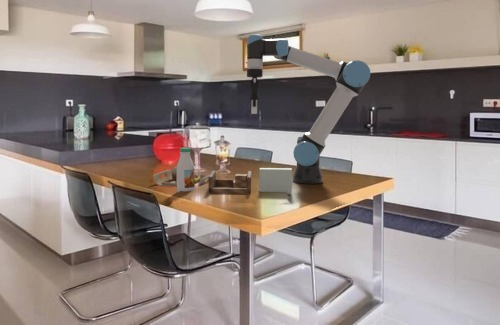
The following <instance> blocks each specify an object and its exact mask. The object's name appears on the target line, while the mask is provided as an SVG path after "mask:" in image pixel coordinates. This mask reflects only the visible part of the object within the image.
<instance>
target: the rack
mask: <svg viewBox="0 0 500 325" xmlns="http://www.w3.org/2000/svg"><path fill="white" fill-rule="evenodd" d="M216 174H217V171H216V170H211V173H210V174H208V175H209V177H208V178H209V181H208V194H236V195H237V194H238V195H239V194H240V195H243V194H246V195H251V194H252V171H251V170H248V171H247V188H233V180H235V178H234V179H233V178H232V179H231V178H229V179H228V178H226V179H224V178H223V179H222V178H221V179H220V178H219V179H217V175H216ZM208 178H207V179H208Z"/></svg>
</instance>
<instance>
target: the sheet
mask: <svg viewBox="0 0 500 325" xmlns="http://www.w3.org/2000/svg"><path fill="white" fill-rule="evenodd" d="M258 185H259V192H262V193H263V192H264V193H268V192H269V193H274V192H275V193H286V194H287V195H293V194H292V192H293V189H292V188H293V168H291V167H284V168H283V167H280V168H279V167H259V184H258Z"/></svg>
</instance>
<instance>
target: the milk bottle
mask: <svg viewBox="0 0 500 325" xmlns="http://www.w3.org/2000/svg"><path fill="white" fill-rule="evenodd" d="M191 153H192V152H191V147H179V154H180V155H179V159H178V161H177V164H176V167H177V187H176V192H177V193H180V192H192V191H194V190H195V183H194V174H195V165H194V164H195V163H194V161H193V160H192V158H191Z"/></svg>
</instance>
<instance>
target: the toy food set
mask: <svg viewBox="0 0 500 325" xmlns="http://www.w3.org/2000/svg"><path fill="white" fill-rule="evenodd" d="M162 175H164V177H161V176H162ZM209 175H210V174H208V175H206V174H205V173H200V175H198V173H194V184H198V186H201V185H203V184H204V183H206V182H209V178H208V177H209ZM199 176H200V177H199ZM152 178H153V182H154V183H155V184H156V186H160V187H162V186H163V187H174V186H177V166H174V167H173V168H172V169H166V170H163V171H161V172H157V173H155V174H153V175H152Z"/></svg>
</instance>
